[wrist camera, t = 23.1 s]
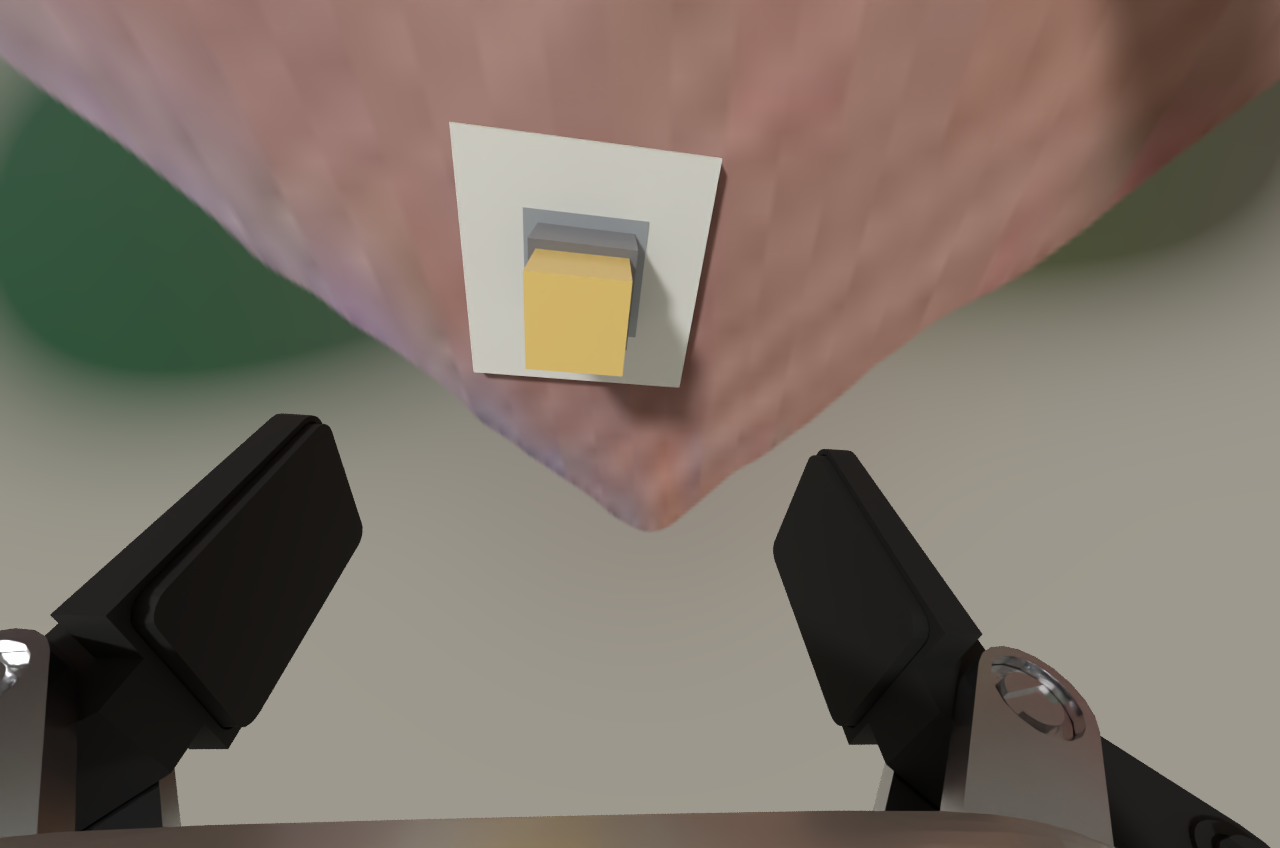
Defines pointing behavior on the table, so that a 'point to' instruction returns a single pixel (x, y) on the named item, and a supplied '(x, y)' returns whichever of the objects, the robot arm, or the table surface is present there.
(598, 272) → the ochre brick
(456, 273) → the table surface
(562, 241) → the charcoal brick
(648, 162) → the base plate
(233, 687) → the robot arm
